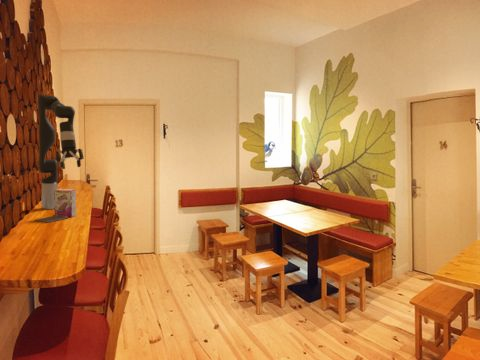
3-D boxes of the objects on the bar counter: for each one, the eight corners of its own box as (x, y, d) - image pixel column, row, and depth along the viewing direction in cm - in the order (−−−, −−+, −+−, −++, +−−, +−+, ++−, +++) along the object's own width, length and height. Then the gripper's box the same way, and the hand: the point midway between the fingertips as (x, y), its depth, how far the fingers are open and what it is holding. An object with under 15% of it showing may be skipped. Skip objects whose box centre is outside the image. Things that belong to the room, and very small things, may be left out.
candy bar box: (54, 216, 205) (53, 189, 203) (59, 215, 210) (58, 188, 208) (71, 217, 204) (71, 190, 202) (76, 215, 209) (76, 189, 207)
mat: (34, 220, 193) (34, 218, 193) (54, 216, 205) (54, 214, 205) (48, 222, 189) (48, 220, 189) (67, 218, 201) (67, 216, 201)
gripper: (83, 139, 200) (86, 166, 200) (58, 142, 199) (61, 169, 199) (77, 137, 193) (81, 166, 192) (52, 140, 192) (55, 169, 191)
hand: (71, 167), depth 196 cm, fingers open, 8 cm apart
